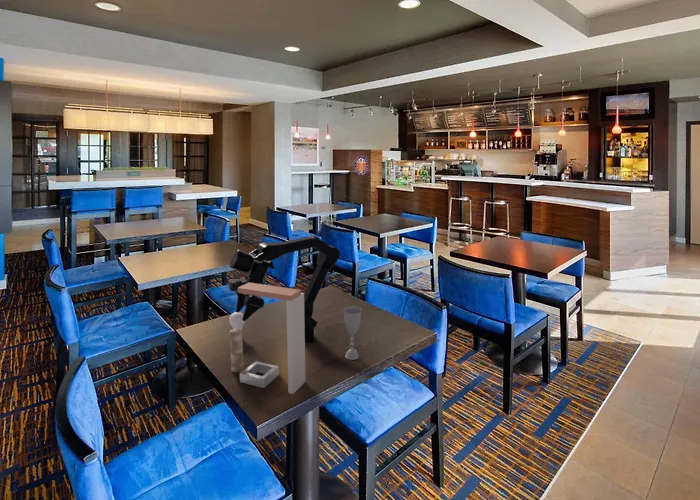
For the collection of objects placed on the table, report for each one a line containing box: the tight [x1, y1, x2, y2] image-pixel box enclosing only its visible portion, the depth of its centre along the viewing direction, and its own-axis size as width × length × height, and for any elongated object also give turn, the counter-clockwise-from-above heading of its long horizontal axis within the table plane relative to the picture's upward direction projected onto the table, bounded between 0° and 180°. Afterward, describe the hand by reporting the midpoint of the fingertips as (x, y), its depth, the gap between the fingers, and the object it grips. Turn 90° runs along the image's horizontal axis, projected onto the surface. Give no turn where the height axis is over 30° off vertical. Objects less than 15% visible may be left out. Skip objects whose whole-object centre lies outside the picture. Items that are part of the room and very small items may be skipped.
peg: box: [229, 328, 245, 374], centre depth 144 cm, size 4×4×14 cm
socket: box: [239, 360, 280, 389], centre depth 140 cm, size 9×9×3 cm
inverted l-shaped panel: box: [238, 282, 306, 395], centre depth 135 cm, size 8×19×32 cm, turn 67°
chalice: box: [342, 305, 363, 360], centre depth 154 cm, size 7×7×18 cm
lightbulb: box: [228, 311, 246, 331], centre depth 169 cm, size 6×6×11 cm
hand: (240, 316), depth 155 cm, fingers open, 9 cm apart
